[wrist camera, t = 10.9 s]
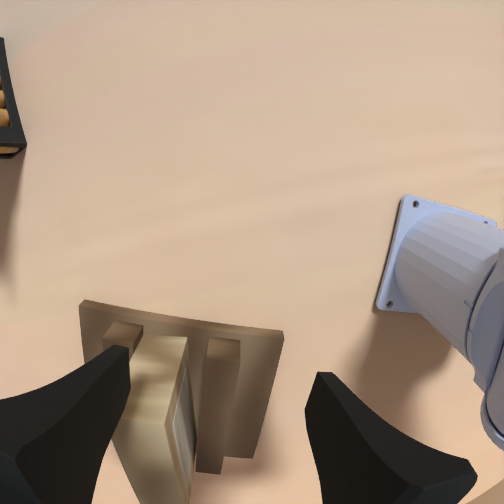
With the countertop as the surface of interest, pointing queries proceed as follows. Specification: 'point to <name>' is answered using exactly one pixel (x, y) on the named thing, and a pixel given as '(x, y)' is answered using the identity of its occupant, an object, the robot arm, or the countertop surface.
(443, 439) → the countertop surface
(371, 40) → the countertop surface
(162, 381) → the beige wooden block
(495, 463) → the countertop surface
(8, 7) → the countertop surface
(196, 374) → the notched stand
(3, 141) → the ammunition clip
